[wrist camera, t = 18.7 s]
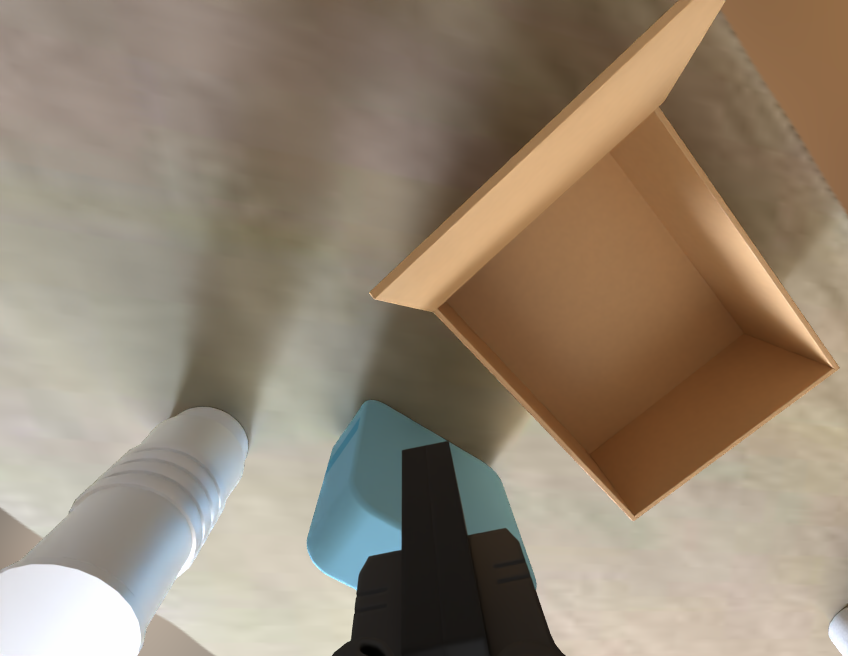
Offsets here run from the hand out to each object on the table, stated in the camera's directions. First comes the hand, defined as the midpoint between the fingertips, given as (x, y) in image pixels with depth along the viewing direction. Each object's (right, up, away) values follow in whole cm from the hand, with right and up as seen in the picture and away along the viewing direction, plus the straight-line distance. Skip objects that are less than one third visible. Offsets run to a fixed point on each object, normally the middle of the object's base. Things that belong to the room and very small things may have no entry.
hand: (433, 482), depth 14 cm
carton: (+11, +6, +17) cm, 22 cm away
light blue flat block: (-1, -5, +20) cm, 21 cm away
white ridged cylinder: (-16, -4, +19) cm, 25 cm away
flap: (+4, +11, +3) cm, 12 cm away
